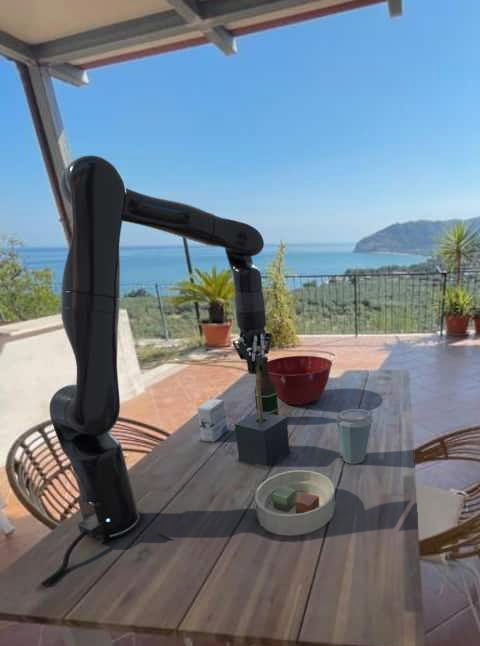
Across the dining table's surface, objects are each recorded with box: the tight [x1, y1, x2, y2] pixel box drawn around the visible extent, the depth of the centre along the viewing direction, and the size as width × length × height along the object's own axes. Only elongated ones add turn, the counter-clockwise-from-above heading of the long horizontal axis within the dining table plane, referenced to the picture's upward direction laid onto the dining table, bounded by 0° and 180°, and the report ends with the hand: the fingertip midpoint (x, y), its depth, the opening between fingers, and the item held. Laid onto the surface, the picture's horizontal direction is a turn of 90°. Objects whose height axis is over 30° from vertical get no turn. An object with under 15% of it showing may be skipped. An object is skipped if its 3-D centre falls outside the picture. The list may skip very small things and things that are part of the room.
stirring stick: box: [249, 353, 264, 423], centre depth 110 cm, size 3×3×21 cm
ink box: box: [197, 398, 228, 443], centre depth 129 cm, size 9×5×12 cm, turn 168°
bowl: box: [254, 469, 336, 537], centre depth 92 cm, size 18×18×6 cm
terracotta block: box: [295, 492, 319, 514], centre depth 90 cm, size 4×4×4 cm
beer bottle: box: [254, 355, 279, 416], centre depth 138 cm, size 8×8×24 cm
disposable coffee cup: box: [336, 408, 374, 465], centre depth 114 cm, size 11×11×15 cm
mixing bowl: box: [268, 355, 333, 406], centre depth 160 cm, size 28×28×16 cm
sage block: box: [273, 486, 297, 513], centre depth 93 cm, size 4×4×4 cm
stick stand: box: [234, 411, 290, 468], centre depth 115 cm, size 11×11×12 cm
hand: (256, 371), depth 108 cm, fingers closed on stirring stick, 2 cm apart
